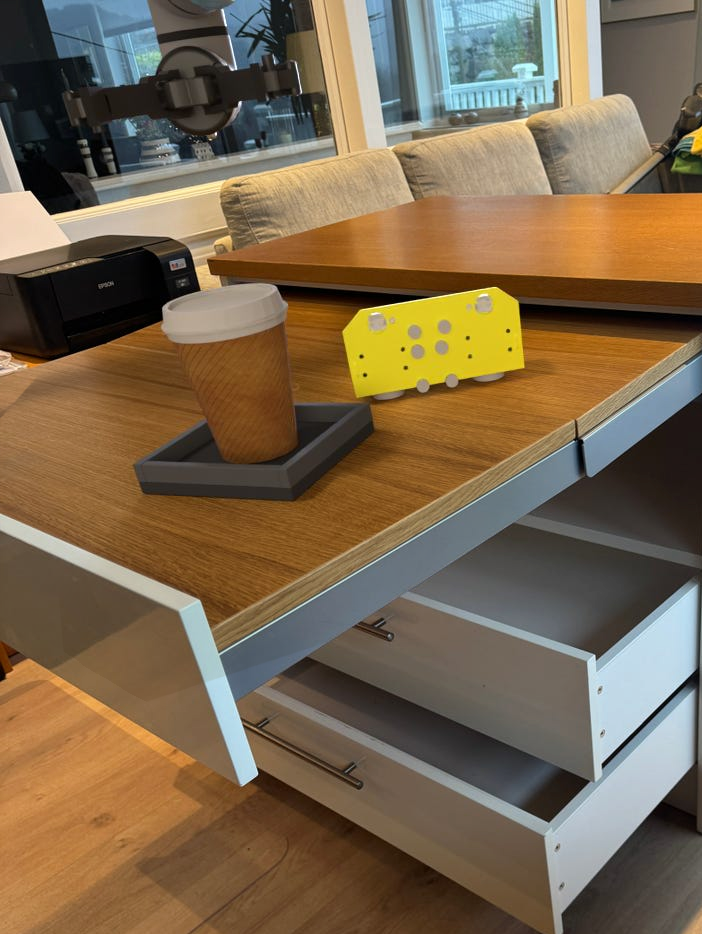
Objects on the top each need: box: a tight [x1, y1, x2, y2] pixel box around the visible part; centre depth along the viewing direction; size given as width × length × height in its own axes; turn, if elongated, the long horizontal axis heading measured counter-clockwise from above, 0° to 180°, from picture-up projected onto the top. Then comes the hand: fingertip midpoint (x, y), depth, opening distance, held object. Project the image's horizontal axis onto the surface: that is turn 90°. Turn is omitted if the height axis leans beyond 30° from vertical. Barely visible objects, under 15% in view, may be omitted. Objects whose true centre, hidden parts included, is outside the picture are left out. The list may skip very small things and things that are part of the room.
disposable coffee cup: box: [160, 282, 299, 464], centre depth 70 cm, size 10×10×12 cm
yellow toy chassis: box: [341, 286, 525, 401], centre depth 83 cm, size 16×6×8 cm, turn 101°
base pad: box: [132, 402, 376, 502], centre depth 73 cm, size 14×14×2 cm
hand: (173, 94), depth 72 cm, fingers open, 13 cm apart
